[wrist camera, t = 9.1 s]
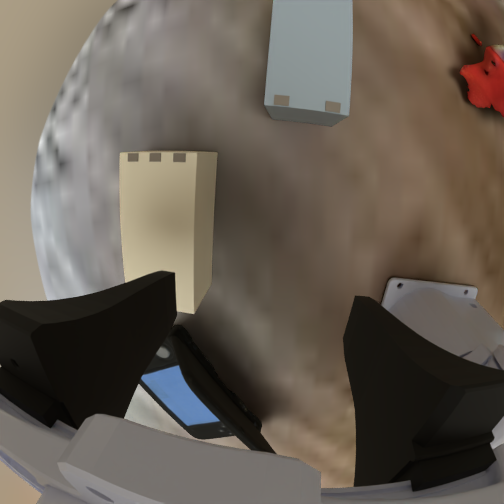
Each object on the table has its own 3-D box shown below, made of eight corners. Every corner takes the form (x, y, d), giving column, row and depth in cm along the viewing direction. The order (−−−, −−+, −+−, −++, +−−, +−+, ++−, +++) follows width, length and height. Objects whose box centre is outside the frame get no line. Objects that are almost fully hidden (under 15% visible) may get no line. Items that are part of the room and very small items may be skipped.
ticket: (217, 152, 19) (196, 152, 14) (211, 284, 22) (193, 315, 18) (152, 150, 19) (119, 152, 15) (153, 275, 23) (127, 301, 18)
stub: (337, 26, 15) (351, -15, 9) (331, 126, 17) (349, 115, 12) (280, 19, 15) (275, -25, 9) (272, 119, 18) (263, 104, 12)
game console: (117, 344, 27) (73, 401, 18) (223, 303, 23) (189, 380, 15) (198, 433, 30) (179, 489, 22) (299, 414, 27) (296, 485, 18)
